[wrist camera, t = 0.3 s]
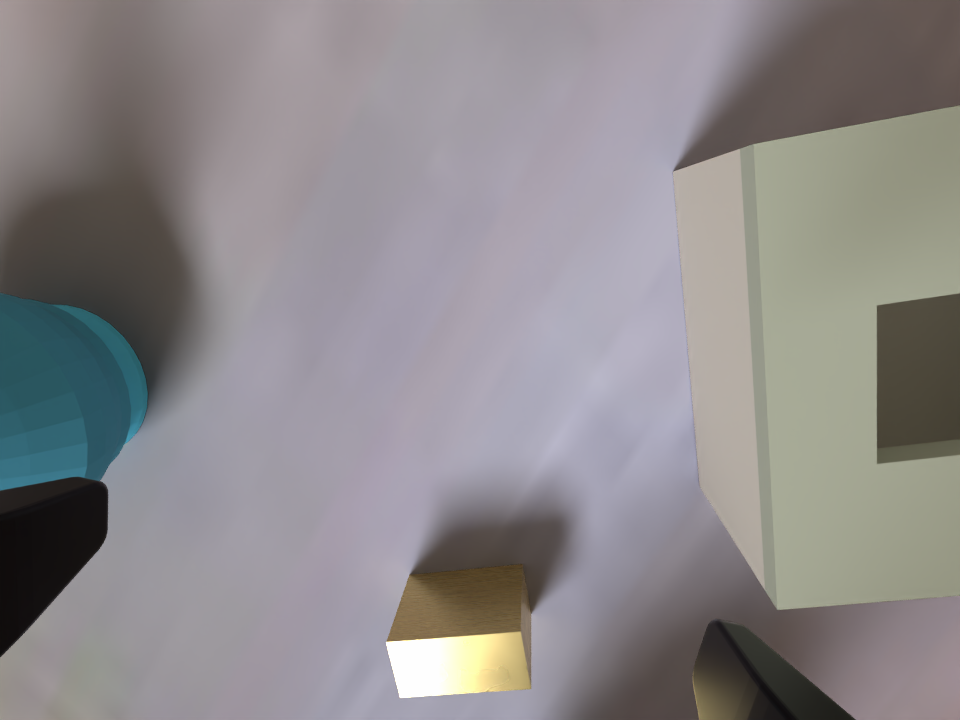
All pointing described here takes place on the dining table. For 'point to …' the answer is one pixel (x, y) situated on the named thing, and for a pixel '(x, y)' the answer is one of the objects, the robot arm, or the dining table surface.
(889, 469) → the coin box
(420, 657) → the wooden block
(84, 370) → the perfume bottle
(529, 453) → the dining table surface
